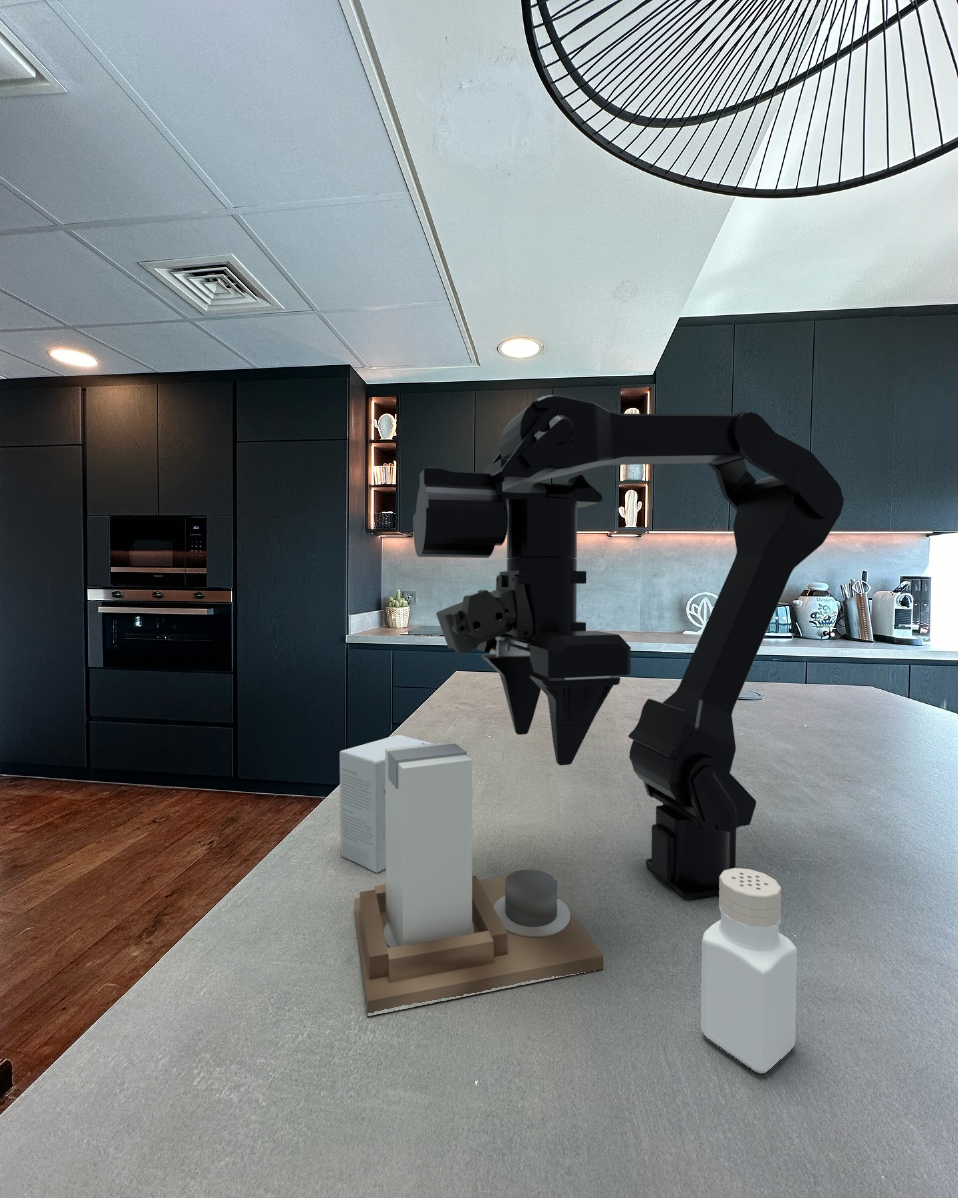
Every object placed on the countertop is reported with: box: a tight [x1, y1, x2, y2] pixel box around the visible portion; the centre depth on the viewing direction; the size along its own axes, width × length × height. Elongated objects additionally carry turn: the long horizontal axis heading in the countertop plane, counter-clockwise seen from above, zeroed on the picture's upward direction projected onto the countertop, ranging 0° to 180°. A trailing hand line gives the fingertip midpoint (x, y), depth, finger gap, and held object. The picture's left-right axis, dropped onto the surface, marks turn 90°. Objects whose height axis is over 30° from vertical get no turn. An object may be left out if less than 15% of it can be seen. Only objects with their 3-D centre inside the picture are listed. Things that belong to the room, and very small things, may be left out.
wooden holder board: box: [353, 869, 604, 1014], centre depth 43 cm, size 16×12×4 cm
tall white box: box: [385, 741, 473, 946], centre depth 42 cm, size 5×5×13 cm
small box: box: [339, 734, 434, 873], centre depth 57 cm, size 8×6×10 cm
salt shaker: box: [700, 867, 798, 1072], centre depth 33 cm, size 4×4×10 cm
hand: (540, 748), depth 48 cm, fingers open, 9 cm apart
